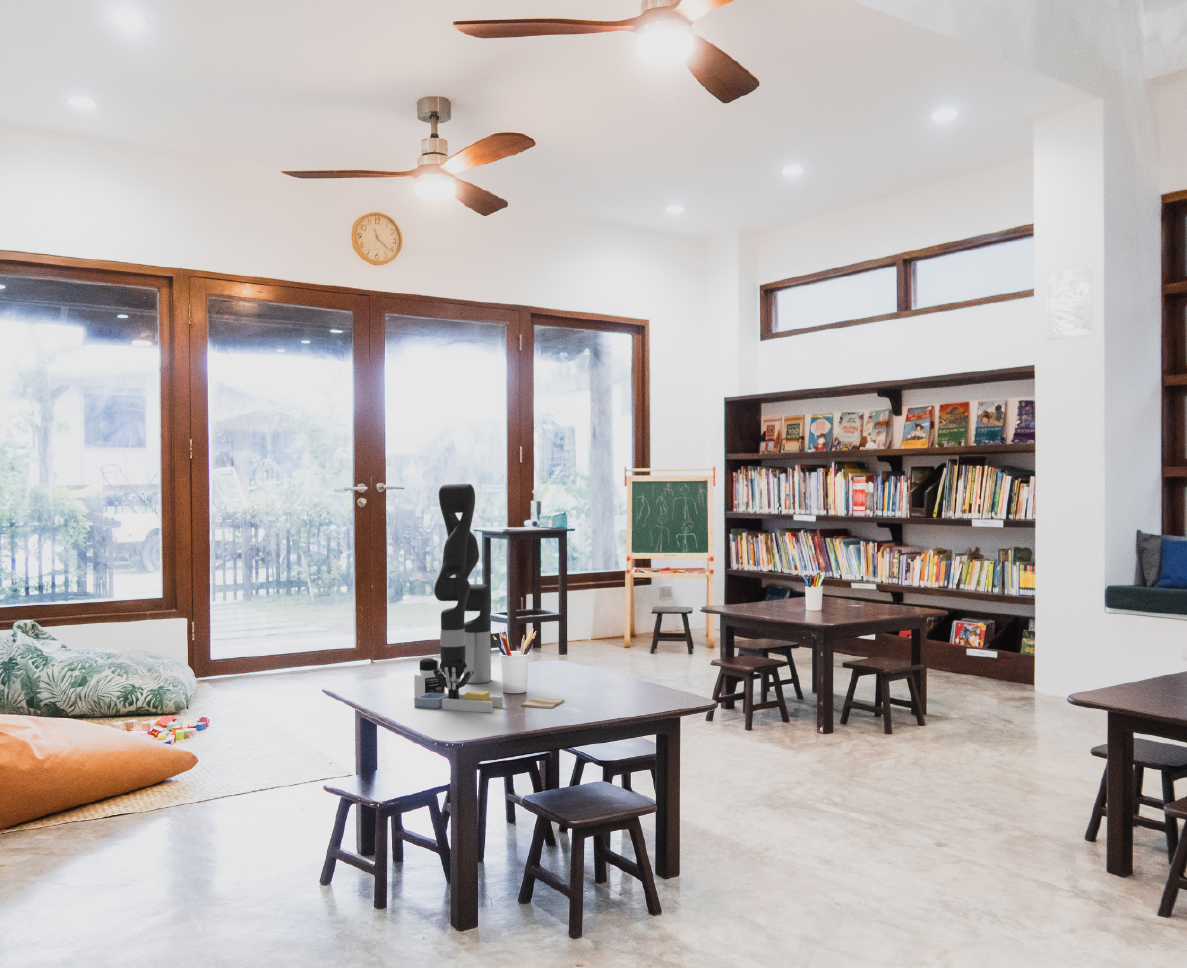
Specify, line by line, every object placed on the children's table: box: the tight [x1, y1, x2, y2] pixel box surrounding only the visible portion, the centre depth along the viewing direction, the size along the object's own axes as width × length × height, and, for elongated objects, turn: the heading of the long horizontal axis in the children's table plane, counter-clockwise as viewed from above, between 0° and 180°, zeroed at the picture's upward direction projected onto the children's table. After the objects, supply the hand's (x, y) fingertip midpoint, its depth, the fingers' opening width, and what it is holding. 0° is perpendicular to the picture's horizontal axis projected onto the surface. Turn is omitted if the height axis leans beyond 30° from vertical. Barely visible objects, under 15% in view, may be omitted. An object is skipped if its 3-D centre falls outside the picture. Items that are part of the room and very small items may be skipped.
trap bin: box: [414, 693, 448, 710], centre depth 284 cm, size 8×8×3 cm
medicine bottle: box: [413, 657, 446, 698], centre depth 297 cm, size 7×7×12 cm
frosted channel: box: [441, 693, 504, 714], centre depth 280 cm, size 16×8×3 cm, turn 70°
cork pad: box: [520, 697, 565, 709], centre depth 284 cm, size 10×10×1 cm
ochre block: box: [464, 690, 491, 701], centre depth 279 cm, size 4×6×5 cm
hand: (453, 701), depth 282 cm, fingers closed
